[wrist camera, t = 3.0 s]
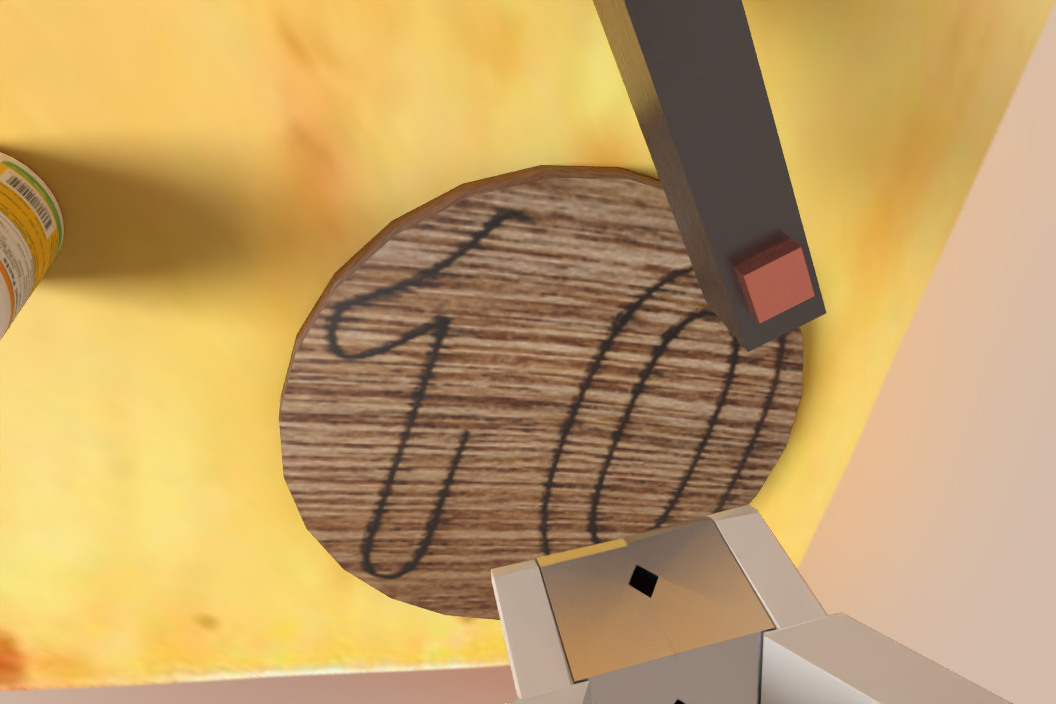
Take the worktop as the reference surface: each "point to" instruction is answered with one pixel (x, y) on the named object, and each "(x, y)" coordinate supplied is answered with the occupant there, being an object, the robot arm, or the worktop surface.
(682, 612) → the robot arm
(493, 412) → the trivet
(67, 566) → the worktop surface
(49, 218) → the supplement bottle
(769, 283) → the lid
